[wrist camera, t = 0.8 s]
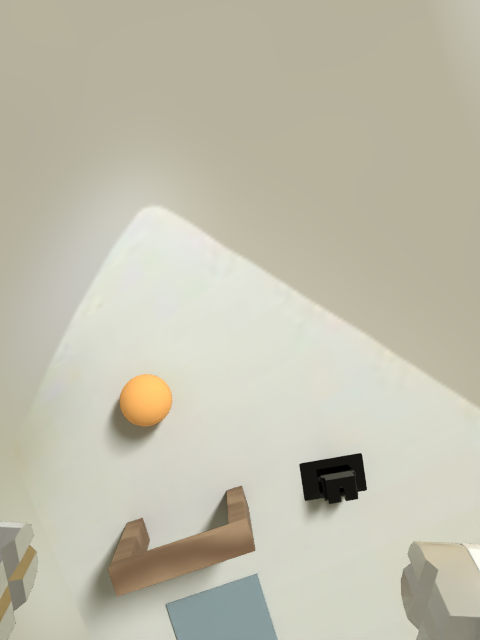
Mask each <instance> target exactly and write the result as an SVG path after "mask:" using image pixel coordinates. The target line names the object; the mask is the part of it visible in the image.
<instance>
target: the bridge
mask: <svg viewBox="0 0 480 640" xmlns="http://www.w3.org/2000/svg"><path fill="white" fill-rule="evenodd" d="M227 507H228V524H227V525H224V526H221V527H218V528H215V529H212V530H209V531H206V532H203V533H200V534H197V535H194V536H191V537H188V538H185V539H182V540H179V541H176V542H173V543H170V544H166V545H163V546H160V547H157V548H154V549H151V550H148V551H147V549H148V545H149V541H150V539H149V536H148V533H147V530H146V527H145V524H144V521H143V518H141V519H138V520H135V521H132V522H128V523H127V525H126V527H125V530H124V532H123V534H122V537H121V539H120V542H119V544H118V547H117V549H116V551H115V554H114V556H113V559H112V561H111V564H110V566H109V568H108V571H109V574H110V577H111V580H112V583H113V586H114V589H115V592H116V595H117V596H120V595H123V594H126V593H129V592H132V591H135V590H138V589H141V588H144V587H147V586H150V585H153V584H156V583H159V582H162V581H165V580H168V579H172V578H175V577H178V576H181V575H184V574H187V573H190V572H193V571H196V570H199V569H202V568H205V567H208V566H211V565H214V564H217V563H220V562H223V561H226V560H229V559H232V558H235V557H238V556H241V555H244V554H247V553H250V552H253V551H255V545H254V538H253V532H252V526H251V520H250V513H249V507H248V504H247V501H246V498H245V495H244V491H243V488H242V486H239V487H236V488H233V489H230V490H227Z"/></svg>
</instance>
